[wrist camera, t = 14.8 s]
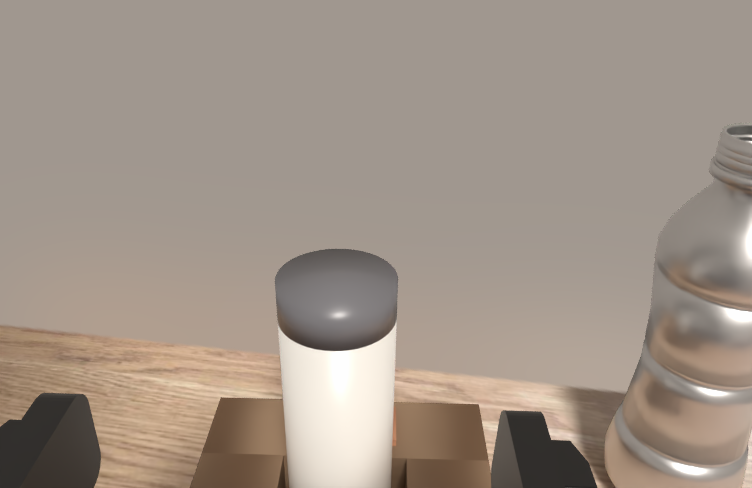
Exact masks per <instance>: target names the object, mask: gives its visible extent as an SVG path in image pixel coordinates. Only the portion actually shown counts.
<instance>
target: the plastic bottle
mask: <svg viewBox="0 0 752 488" xmlns="http://www.w3.org/2000/svg"><path fill="white" fill-rule="evenodd" d="M709 172H710V174H711V175H712V176H714V181H713V183H712V184H711V185H709V186H708V187H706V188H705V189H704V190H702V191H701V192H700V193H698V194H697V195H695V196H694V197H693V198H691V199H690V200H689V201H688V202H686V203H685V204H684V205H683V206H682V207H681V208H680V209H679V210H678V211H677V212H676V213H674V215H672V216H671V218H670V219H669V221H668V222H667V224H666V225H665V226H664V228H663V230H662V231H661V233H660V234H659V237H658V243H657V248H656V254H655V264H654V275H653V287H652V298H651V309H650V314H649V319H648V324H647V329H646V335H645V340H644V344H643V349H642V354H641V357H640V360H639V363H638V365H637V368H636V370H635V373H634V375H633V378H632V381H631V383H630V386H629V388H628V391H627V393H626V396H625V398H624V400H623V402H622V403H621V405H620V407H619V408H618V410H617V411H616V413H615V415H614V417H613V419H612V421H611V423H610V426H609V428H608V430H607V432H606V436H605V450H604V461H605V468H606V471H607V473H608V476H609V478H610V479H611V481H612V483H613V484H614V486H615V488H742V485H743V481H744V476H745V471H746V466H747V459H748V441H749V438H750V434H751V430H752V123H738V124H731V125H727V126H725V127H724V128H723V131H722V132H721V134H720V139H719V142H718V147H717V151H716V154H715V156H714V157H713V158H712V159H711V164H710V167H709Z"/></svg>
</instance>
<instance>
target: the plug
mask: <svg viewBox="0 0 752 488" xmlns="http://www.w3.org/2000/svg"><path fill="white" fill-rule="evenodd" d="M275 289H276V304H277V318H278V333H279V347H280V362H281V376H282V391H283V406H284V420H285V435H286V449H287V464H288V478H289V488H391V469H392V440H393V411H394V382H395V353H396V323H397V293H398V276H397V273H396V271H395V269H394V268H393V267H392V266H391V265H390V264H389V263H388V262H387V261H385V260H384V259H382V258H380V257H378V256H376V255H373V254H370V253H366V252H363V251H357V250H349V249H326V250H319V251H314V252H310V253H306V254H303V255H300V256H298V257H296V258H294V259H292V260H290V261H289V262H287V263H286V264H284V265H283V266H282V267H281V268H280V270H279V271H278V272H277V275H276V277H275Z"/></svg>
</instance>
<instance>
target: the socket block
mask: <svg viewBox="0 0 752 488" xmlns="http://www.w3.org/2000/svg"><path fill="white" fill-rule="evenodd" d="M190 488H289V478H288V464H287V449H286V435H285V420H284V406H283V399H254V398H221V399H220V402H219V405H218V408H217V411H216V414H215V416H214V419H213V422H212V425H211V428H210V431H209V434H208V437H207V440H206V443H205V445H204V448H203V451H202V454H201V457H200V460H199V463H198V466H197V469H196V472H195V475H194V477H193V480H192V483H191V486H190ZM391 488H491V472H490V466H489V460H488V454H487V449H486V443H485V437H484V432H483V426H482V420H481V415H480V409H479V404H443V403H405V402H394V411H393V440H392V469H391Z"/></svg>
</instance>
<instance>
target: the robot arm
mask: <svg viewBox="0 0 752 488" xmlns="http://www.w3.org/2000/svg"><path fill="white" fill-rule="evenodd" d="M100 461H101V455H100V448H99V444H98V439H97V435H96V431H95V427H94V423H93V418H92V414H91V410H90V406H89V402H88V399H87V397H86V396H85V395H83V394H61V393H42V394H40V395H39V396H38V397H37V398H36V399H35V401H34V402H33V404H32V405H31V407H30V408H29V409H28V411H27V412H26V414H25V415H24V417H23V418H22V420H9V421H7V422H6V423H5V424H3V425H2V426H1V427H0V488H94V486H95V483H96V481H97V478H98V474H99V469H100ZM491 488H597V485H596V482H595V480H594V477H593V474H592V471H591V468H590V465H589V463H588V461H587V460H586V459H585V458H584V457H583V455H582V454H581V453H580V452H579V451H578V450H577V448H576V447H575V446H574V445H573V444H572V443H571V441H561V440H551V438H550V435H549V432H548V428H547V425H546V421H545V418H544V416H543V414H542V413H541V412H533V411H504V410H503V411H502V412H501V415H500V419H499V425H498V431H497V437H496V443H495V449H494V455H493V461H492V469H491Z"/></svg>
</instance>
